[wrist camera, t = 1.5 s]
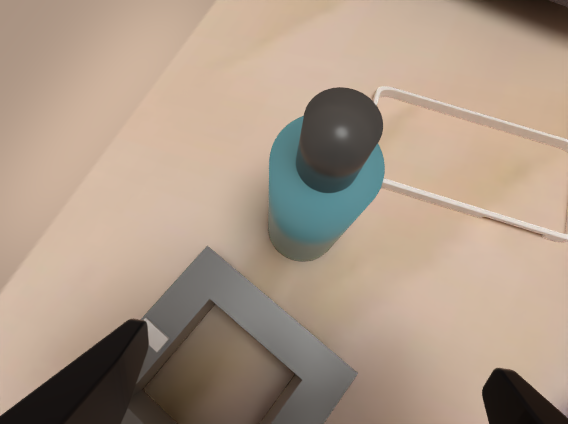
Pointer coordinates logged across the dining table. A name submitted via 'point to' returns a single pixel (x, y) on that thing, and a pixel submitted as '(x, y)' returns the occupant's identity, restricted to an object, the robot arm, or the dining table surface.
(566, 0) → the bluetooth speaker
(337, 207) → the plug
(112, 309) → the dining table surface
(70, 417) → the robot arm
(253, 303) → the socket
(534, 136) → the phone case
